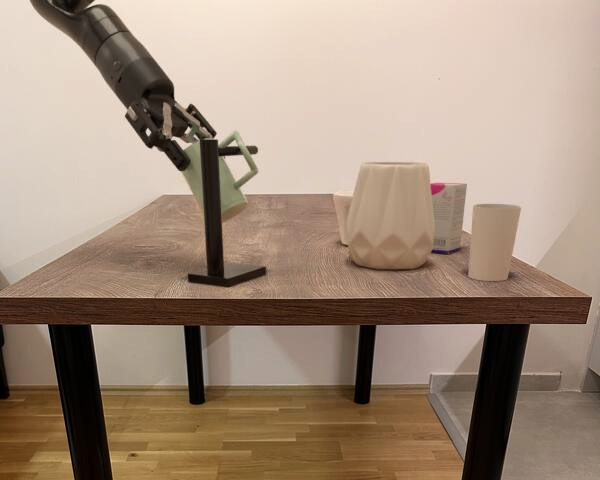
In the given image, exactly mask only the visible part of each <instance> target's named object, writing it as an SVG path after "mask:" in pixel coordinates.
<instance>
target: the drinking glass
mask: <svg viewBox="0 0 600 480" xmlns="http://www.w3.org/2000/svg"><path fill="white" fill-rule="evenodd" d="M521 210H522V206H521V205H516V204H507V203H477V204H473V205H472V215H471V216H472V218H471V230H470V231H471V233H470V247H469V257H468V259H469V260H468V273H467V277H468V278H469V279H471V280H472V279H473V280H476V281H484V282H501V281H506V280H509V279H508V278H509V273H510V268H511V263H512V257H513V252H514V247H515V243H516V237H517V231H518V226H519V222H520V215H521Z"/></svg>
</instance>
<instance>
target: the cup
mask: <svg viewBox="0 0 600 480" xmlns="http://www.w3.org/2000/svg"><path fill="white" fill-rule="evenodd" d="M353 194H354V190H340V191H335V192H333V193H332V200H333V203H334V204H333V205H334V208H335V214H336V219H337V224H338V230H339V236H340V241H341V244H342V246H345V247H348V236H347V230H346V224H347V219H348V215H349V210H350V206H351V202H352V198H353Z"/></svg>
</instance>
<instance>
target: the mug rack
mask: <svg viewBox="0 0 600 480" xmlns="http://www.w3.org/2000/svg"><path fill="white" fill-rule="evenodd" d="M199 141H200V157H201V174H202V191H203V208H204V213H203V220H204V221H203V223H204V240H205V241H204V243H205V257H206V268H203V269H199V270H195V271H192V272H188V273H187V282H188V283H194V284H201V285H209V286H214V287H215V286H216V287H224V288H231V287H234V286H236V285H240V284H243V283H246V282H248V281H250V280H254V279H257V278H259V277H262V276H265V275H266V274H267V266H265V265H258V264H257V265H255V264H247V263H237V262H231V261H230V262H229V261H227V262H225V260H224V259H225V258H224V239H223V238H224V236H223V235H224V234H223V223H222V213H221V192H220V171H219V156H225V157H235V156H243V154H242V152H241V150H240V148H239V146H238V145H230V146H229V145H228V146H224V147H218V145H219V139H217V138H216V139H215V138H214V139H200V140H199ZM245 146H246V148H247V149H248V151H249V153H250V155H251V156H252V155H253V156H254V155H257V154H258V152H259V148H258V146H257V145H245Z"/></svg>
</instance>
